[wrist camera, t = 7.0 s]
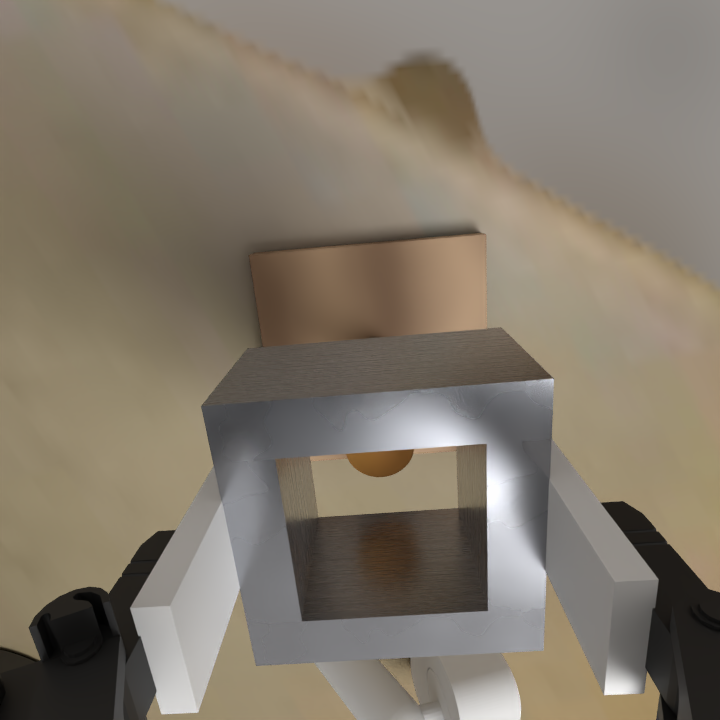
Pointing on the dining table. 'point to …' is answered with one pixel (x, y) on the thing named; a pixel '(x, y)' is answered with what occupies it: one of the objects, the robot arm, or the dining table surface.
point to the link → (387, 530)
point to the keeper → (372, 302)
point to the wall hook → (428, 688)
